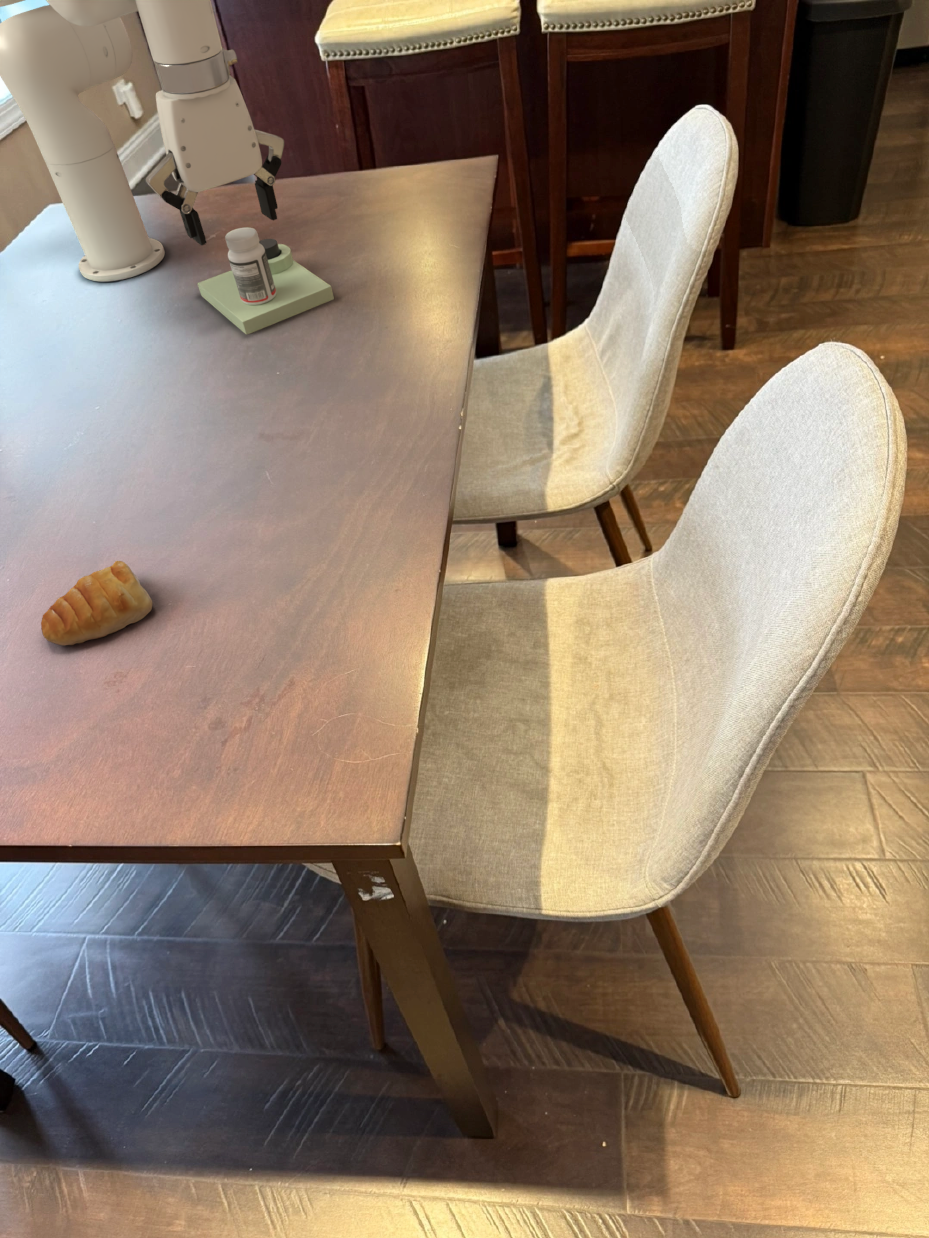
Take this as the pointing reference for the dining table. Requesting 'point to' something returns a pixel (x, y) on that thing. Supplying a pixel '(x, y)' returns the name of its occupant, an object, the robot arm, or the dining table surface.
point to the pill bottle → (250, 266)
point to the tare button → (270, 248)
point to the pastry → (97, 606)
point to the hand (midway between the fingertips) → (235, 229)
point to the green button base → (292, 298)
